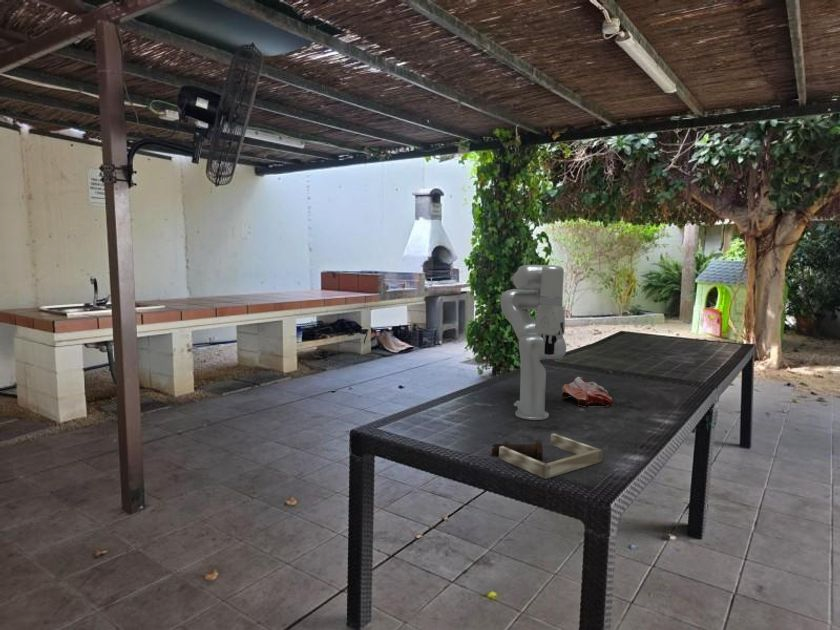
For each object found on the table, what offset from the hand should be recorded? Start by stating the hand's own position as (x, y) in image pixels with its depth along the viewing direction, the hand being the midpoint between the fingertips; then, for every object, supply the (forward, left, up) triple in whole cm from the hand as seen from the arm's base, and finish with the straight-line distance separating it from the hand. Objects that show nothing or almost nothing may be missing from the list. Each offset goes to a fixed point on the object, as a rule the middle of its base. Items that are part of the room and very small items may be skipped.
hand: (549, 354), depth 187 cm
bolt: (+13, -28, -27) cm, 41 cm away
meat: (-17, +45, -27) cm, 55 cm away
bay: (+21, -22, -27) cm, 40 cm away
